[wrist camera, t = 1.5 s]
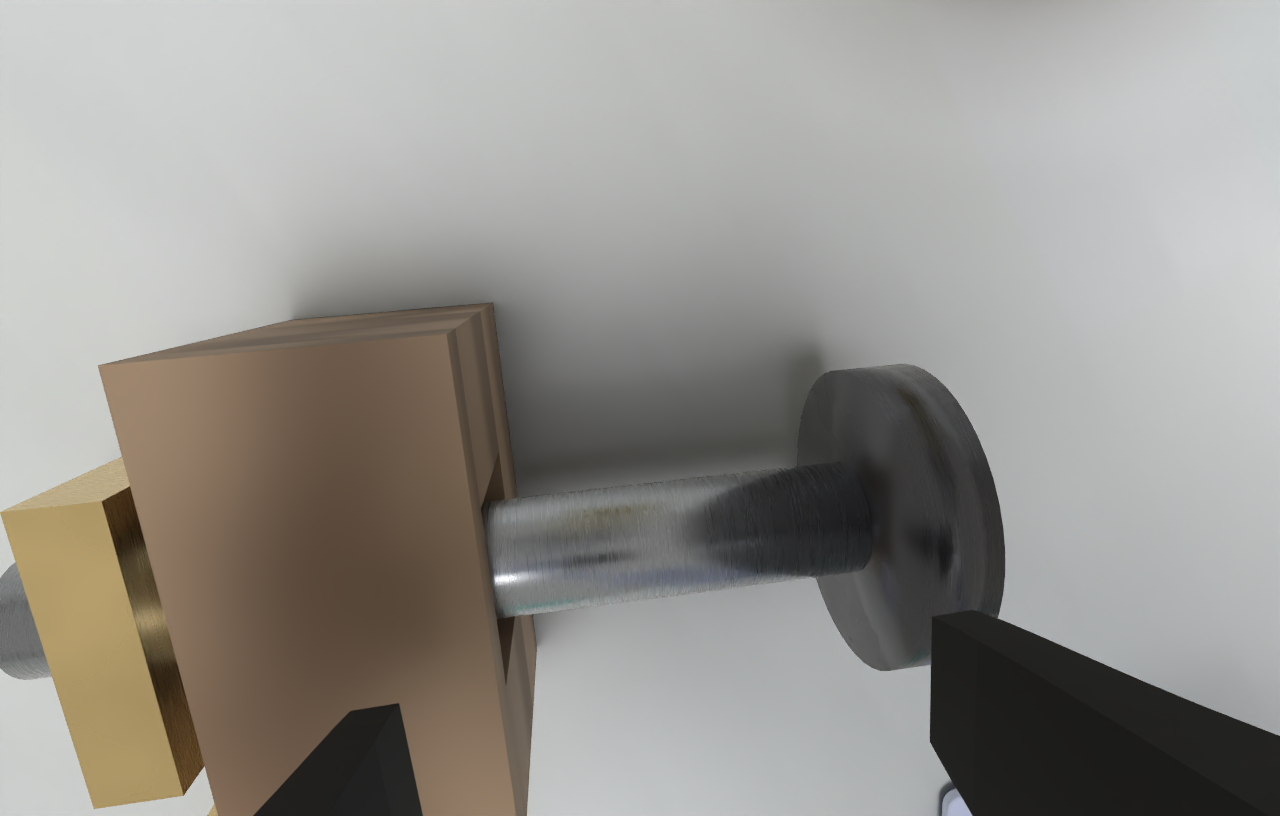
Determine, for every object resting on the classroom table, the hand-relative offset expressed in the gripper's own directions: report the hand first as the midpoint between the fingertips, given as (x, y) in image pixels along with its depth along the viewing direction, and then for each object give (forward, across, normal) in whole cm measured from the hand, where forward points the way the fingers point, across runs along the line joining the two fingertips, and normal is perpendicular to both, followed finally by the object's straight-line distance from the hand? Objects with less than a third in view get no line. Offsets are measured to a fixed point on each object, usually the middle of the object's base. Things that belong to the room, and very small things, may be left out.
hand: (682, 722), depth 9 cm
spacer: (+9, +9, 0) cm, 13 cm away
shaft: (+9, +3, 0) cm, 9 cm away
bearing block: (+10, +5, 0) cm, 11 cm away
